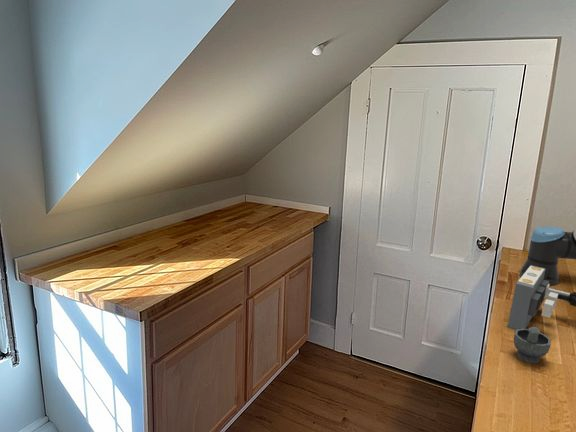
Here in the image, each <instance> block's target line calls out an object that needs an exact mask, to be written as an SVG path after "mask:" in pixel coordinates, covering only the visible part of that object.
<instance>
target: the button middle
mask: <svg viewBox="0 0 576 432" xmlns="http://www.w3.org/2000/svg"><path fill="white" fill-rule="evenodd" d="M557 298H558V294H557V293H553V292H550V294H549V295H548V296H547V299H548V300H552V301H555V302H554V307H553V310H555V308H556V306H557V301H558V299H557Z"/></svg>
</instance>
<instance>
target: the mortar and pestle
mask: <svg viewBox="0 0 576 432" xmlns="http://www.w3.org/2000/svg"><path fill="white" fill-rule="evenodd" d="M514 330H515V332H514V333H513V334H514V335H513V345H514V348H515V349H516V350H517V353H516V357H518V358H519V359H520V360H521V361H524V362H526V363H530V364H538V363H539V364H540V362H541V361H540V360H541V357H545V356H546V355H547V354H548V353H549V351H550V348H551V346H552V345H551V343H552V340H551V338H549V337H548V336H547V335H546V334H544V333H542V332H541V331H540V329H539V328H538V327H537V326H530V327H529V328H526V329H518V330H516V329H514Z"/></svg>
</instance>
